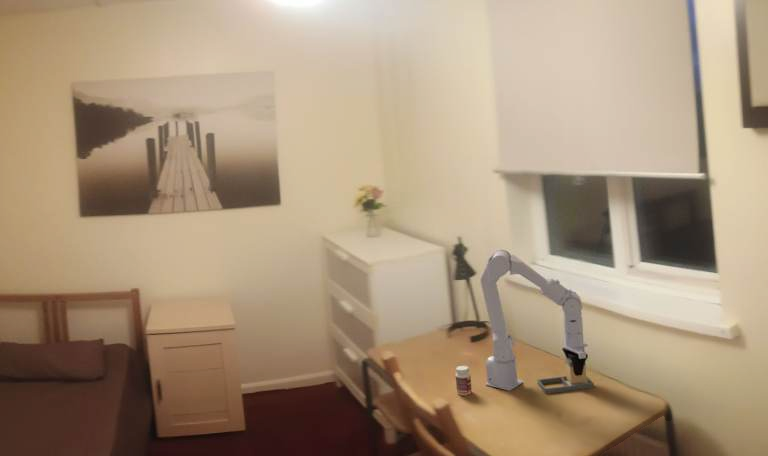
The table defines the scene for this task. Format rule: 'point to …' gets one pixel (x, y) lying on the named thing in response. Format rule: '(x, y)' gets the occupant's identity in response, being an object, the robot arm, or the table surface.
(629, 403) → the table surface
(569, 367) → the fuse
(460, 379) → the pill bottle
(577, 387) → the gray divided rectangular frame
